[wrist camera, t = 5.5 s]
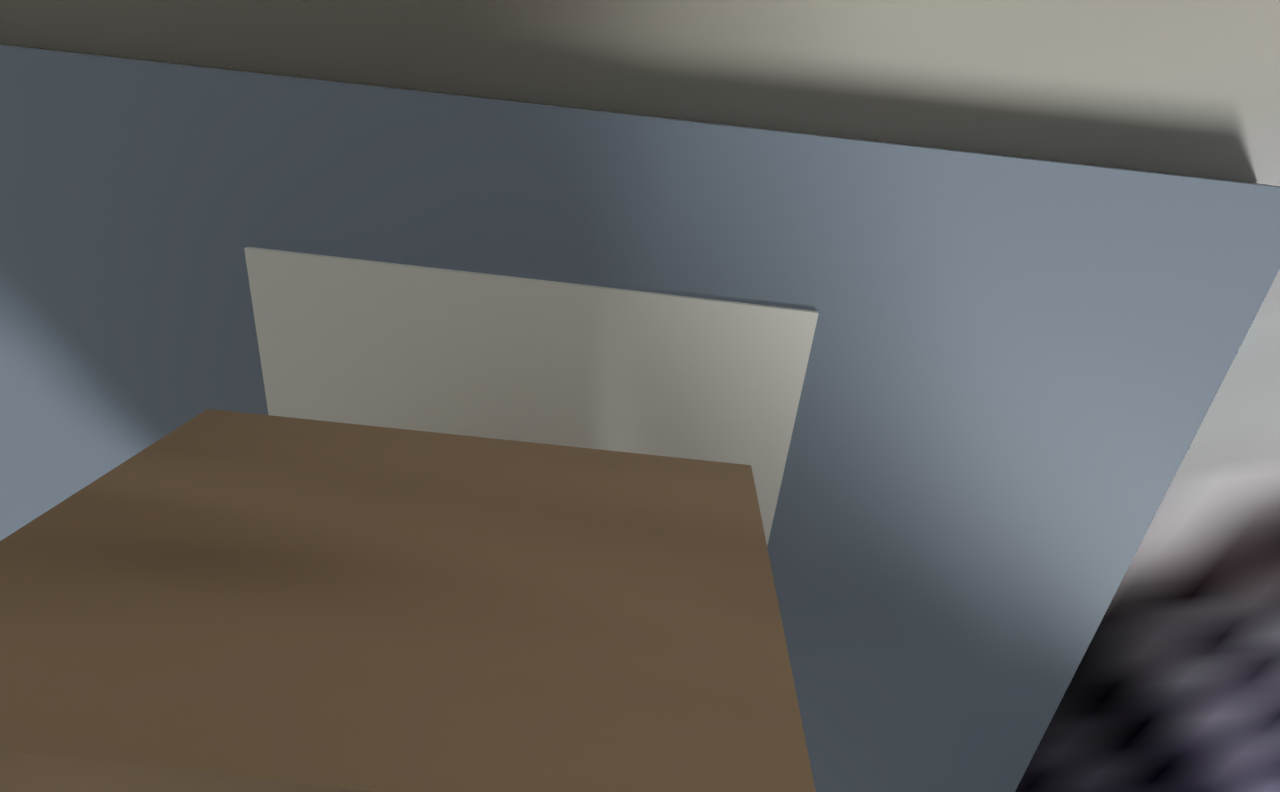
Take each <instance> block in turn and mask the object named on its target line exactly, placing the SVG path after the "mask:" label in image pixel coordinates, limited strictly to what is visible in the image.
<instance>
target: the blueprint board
mask: <svg viewBox="0 0 1280 792" xmlns="http://www.w3.org/2000/svg"><path fill="white" fill-rule="evenodd" d="M1279 269H1280V187H1279V186H1272V185H1265V184H1256V183H1247V182H1238V181H1229V180H1220V179H1211V178H1202V177H1193V176H1184V175H1175V174H1166V173H1157V172H1148V171H1139V170H1130V169H1121V168H1112V167H1103V166H1094V165H1085V164H1076V163H1067V162H1058V161H1049V160H1040V159H1031V158H1022V157H1013V156H1004V155H995V154H986V153H977V152H968V151H959V150H950V149H941V148H932V147H923V146H914V145H905V144H896V143H887V142H878V141H869V140H860V139H850V138H841V137H832V136H823V135H814V134H805V133H796V132H787V131H778V130H769V129H760V128H751V127H742V126H733V125H724V124H715V123H706V122H697V121H688V120H679V119H670V118H661V117H652V116H643V115H634V114H625V113H616V112H607V111H598V110H589V109H580V108H571V107H562V106H553V105H544V104H535V103H526V102H517V101H508V100H499V99H490V98H481V97H472V96H463V95H454V94H445V93H435V92H426V91H417V90H408V89H399V88H390V87H381V86H372V85H363V84H354V83H345V82H336V81H327V80H318V79H309V78H300V77H291V76H282V75H273V74H264V73H255V72H246V71H237V70H228V69H219V68H210V67H201V66H192V65H183V64H174V63H165V62H156V61H147V60H138V59H129V58H120V57H111V56H102V55H93V54H84V53H75V52H66V51H57V50H48V49H39V48H30V47H20V46H11V45H2V44H0V541H1V540H3V539H4V538H6V537H7V536H9V535H11V534H12V533H14V532H15V531H17V530H18V529H20V528H22V527H23V526H25V525H26V524H28V523H29V522H31V521H32V520H34V519H36V518H37V517H39V516H40V515H42V514H43V513H45V512H47V511H48V510H50V509H51V508H53V507H54V506H56V505H58V504H59V503H61V502H62V501H64V500H65V499H67V498H69V497H70V496H72V495H73V494H75V493H76V492H78V491H80V490H81V489H83V488H84V487H86V486H87V485H89V484H91V483H92V482H94V481H95V480H97V479H98V478H100V477H102V476H103V475H105V474H106V473H108V472H109V471H111V470H112V469H114V468H116V467H117V466H119V465H120V464H122V463H123V462H125V461H127V460H128V459H130V458H131V457H133V456H134V455H136V454H138V453H139V452H141V451H142V450H144V449H145V448H147V447H149V446H150V445H152V444H153V443H155V442H156V441H158V440H160V439H161V438H163V437H164V436H166V435H167V434H169V433H171V432H172V431H174V430H175V429H177V428H178V427H180V426H182V425H183V424H185V423H186V422H188V421H189V420H191V419H192V418H194V417H196V416H197V415H199V414H200V413H202V412H203V411H205V410H207V409H213V410H223V411H233V412H242V413H252V414H262V415H271V416H281V417H291V418H300V419H310V420H319V421H329V422H339V423H348V424H358V425H368V426H377V427H387V428H397V429H406V430H416V431H426V432H435V433H445V434H455V435H464V436H474V437H484V438H493V439H503V440H513V441H522V442H532V443H541V444H551V445H561V446H570V447H580V448H590V449H599V450H609V451H619V452H628V453H638V454H648V455H657V456H667V457H677V458H686V459H696V460H706V461H715V462H725V463H735V464H744V465H751V468H752V473H753V478H754V483H755V488H756V493H757V498H758V503H759V508H760V513H761V518H762V523H763V528H764V533H765V538H766V543H767V548H768V553H769V558H770V563H771V569H772V574H773V579H774V584H775V589H776V594H777V599H778V604H779V609H780V614H781V619H782V624H783V629H784V634H785V639H786V644H787V649H788V654H789V659H790V664H791V669H792V674H793V679H794V685H795V690H796V695H797V700H798V705H799V710H800V715H801V720H802V725H803V730H804V735H805V740H806V745H807V750H808V755H809V760H810V765H811V770H812V775H813V780H814V785H815V790H816V792H1015V791H1016V789H1017V787H1018V785H1019V783H1020V781H1021V779H1022V777H1023V775H1024V773H1025V771H1026V769H1027V767H1028V765H1029V763H1030V761H1031V759H1032V757H1033V755H1034V753H1035V751H1036V749H1037V747H1038V745H1039V743H1040V741H1041V739H1042V737H1043V735H1044V733H1045V731H1046V729H1047V727H1048V726H1049V724H1050V722H1051V720H1052V718H1053V716H1054V714H1055V712H1056V710H1057V708H1058V706H1059V704H1060V702H1061V700H1062V698H1063V696H1064V694H1065V692H1066V690H1067V688H1068V686H1069V684H1070V682H1071V680H1072V678H1073V676H1074V674H1075V672H1076V670H1077V668H1078V666H1079V664H1080V662H1081V660H1082V658H1083V656H1084V654H1085V652H1086V650H1087V648H1088V646H1089V644H1090V642H1091V641H1092V639H1093V637H1094V635H1095V633H1096V631H1097V629H1098V627H1099V625H1100V623H1101V621H1102V619H1103V617H1104V615H1105V613H1106V611H1107V609H1108V607H1109V605H1110V603H1111V601H1112V599H1113V597H1114V595H1115V593H1116V591H1117V589H1118V587H1119V585H1120V583H1121V581H1122V579H1123V577H1124V575H1125V573H1126V571H1127V569H1128V567H1129V565H1130V563H1131V561H1132V559H1133V557H1134V555H1135V554H1136V552H1137V550H1138V548H1139V546H1140V544H1141V542H1142V540H1143V538H1144V536H1145V534H1146V532H1147V530H1148V528H1149V526H1150V524H1151V522H1152V520H1153V518H1154V516H1155V514H1156V512H1157V510H1158V508H1159V506H1160V504H1161V502H1162V500H1163V498H1164V496H1165V494H1166V492H1167V490H1168V488H1169V486H1170V484H1171V482H1172V480H1173V478H1174V476H1175V474H1176V472H1177V470H1178V468H1179V467H1180V465H1181V463H1182V461H1183V459H1184V457H1185V455H1186V453H1187V451H1188V449H1189V447H1190V445H1191V443H1192V441H1193V439H1194V437H1195V435H1196V433H1197V431H1198V429H1199V427H1200V425H1201V423H1202V421H1203V419H1204V417H1205V415H1206V413H1207V411H1208V409H1209V407H1210V405H1211V403H1212V401H1213V399H1214V397H1215V395H1216V393H1217V391H1218V389H1219V387H1220V385H1221V383H1222V381H1223V380H1224V378H1225V376H1226V374H1227V372H1228V370H1229V368H1230V366H1231V364H1232V362H1233V360H1234V358H1235V356H1236V354H1237V352H1238V350H1239V348H1240V346H1241V344H1242V342H1243V340H1244V338H1245V336H1246V334H1247V332H1248V330H1249V328H1250V326H1251V324H1252V322H1253V320H1254V318H1255V316H1256V314H1257V312H1258V310H1259V308H1260V306H1261V304H1262V302H1263V300H1264V298H1265V296H1266V295H1267V293H1268V291H1269V289H1270V287H1271V285H1272V283H1273V281H1274V279H1275V277H1276V275H1277V273H1278V271H1279Z"/></svg>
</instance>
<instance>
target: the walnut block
mask: <svg viewBox="0 0 1280 792" xmlns="http://www.w3.org/2000/svg"><path fill="white" fill-rule="evenodd" d="M0 792H816V790H815V785H814V780H813V775H812V770H811V765H810V760H809V755H808V750H807V745H806V740H805V735H804V730H803V725H802V720H801V715H800V710H799V705H798V700H797V695H796V690H795V685H794V679H793V674H792V669H791V664H790V659H789V654H788V649H787V644H786V639H785V634H784V629H783V624H782V619H781V614H780V609H779V604H778V599H777V594H776V589H775V584H774V579H773V574H772V569H771V563H770V558H769V553H768V548H767V543H766V538H765V533H764V528H763V523H762V518H761V513H760V508H759V503H758V498H757V493H756V488H755V483H754V478H753V473H752V468H751V465H744V464H735V463H725V462H715V461H706V460H696V459H686V458H677V457H667V456H657V455H648V454H638V453H628V452H619V451H609V450H599V449H590V448H580V447H570V446H561V445H551V444H541V443H532V442H522V441H513V440H503V439H493V438H484V437H474V436H464V435H455V434H445V433H435V432H426V431H416V430H406V429H397V428H387V427H377V426H368V425H358V424H348V423H339V422H329V421H319V420H310V419H300V418H291V417H281V416H271V415H262V414H252V413H242V412H233V411H223V410H213V409H207V410H205V411H203V412H202V413H200V414H199V415H197V416H196V417H194V418H192V419H191V420H189V421H188V422H186V423H185V424H183V425H182V426H180V427H178V428H177V429H175V430H174V431H172V432H171V433H169V434H167V435H166V436H164V437H163V438H161V439H160V440H158V441H156V442H155V443H153V444H152V445H150V446H149V447H147V448H145V449H144V450H142V451H141V452H139V453H138V454H136V455H134V456H133V457H131V458H130V459H128V460H127V461H125V462H123V463H122V464H120V465H119V466H117V467H116V468H114V469H112V470H111V471H109V472H108V473H106V474H105V475H103V476H102V477H100V478H98V479H97V480H95V481H94V482H92V483H91V484H89V485H87V486H86V487H84V488H83V489H81V490H80V491H78V492H76V493H75V494H73V495H72V496H70V497H69V498H67V499H65V500H64V501H62V502H61V503H59V504H58V505H56V506H54V507H53V508H51V509H50V510H48V511H47V512H45V513H43V514H42V515H40V516H39V517H37V518H36V519H34V520H32V521H31V522H29V523H28V524H26V525H25V526H23V527H22V528H20V529H18V530H17V531H15V532H14V533H12V534H11V535H9V536H7V537H6V538H4V539H3V540H1V541H0Z"/></svg>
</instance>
